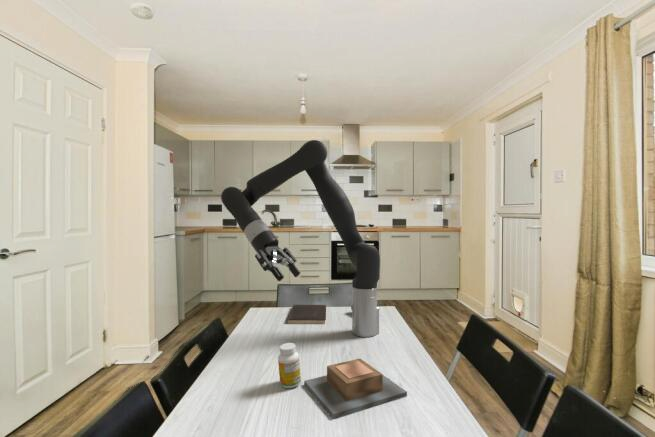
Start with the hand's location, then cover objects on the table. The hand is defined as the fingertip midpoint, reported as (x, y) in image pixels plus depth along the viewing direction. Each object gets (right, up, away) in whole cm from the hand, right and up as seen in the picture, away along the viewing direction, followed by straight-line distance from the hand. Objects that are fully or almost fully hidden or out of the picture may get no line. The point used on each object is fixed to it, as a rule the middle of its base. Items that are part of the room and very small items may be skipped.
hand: (290, 277), depth 97 cm
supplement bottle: (+2, -25, -13) cm, 28 cm away
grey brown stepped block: (+18, -25, -16) cm, 35 cm away
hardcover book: (+2, -26, +47) cm, 54 cm away
